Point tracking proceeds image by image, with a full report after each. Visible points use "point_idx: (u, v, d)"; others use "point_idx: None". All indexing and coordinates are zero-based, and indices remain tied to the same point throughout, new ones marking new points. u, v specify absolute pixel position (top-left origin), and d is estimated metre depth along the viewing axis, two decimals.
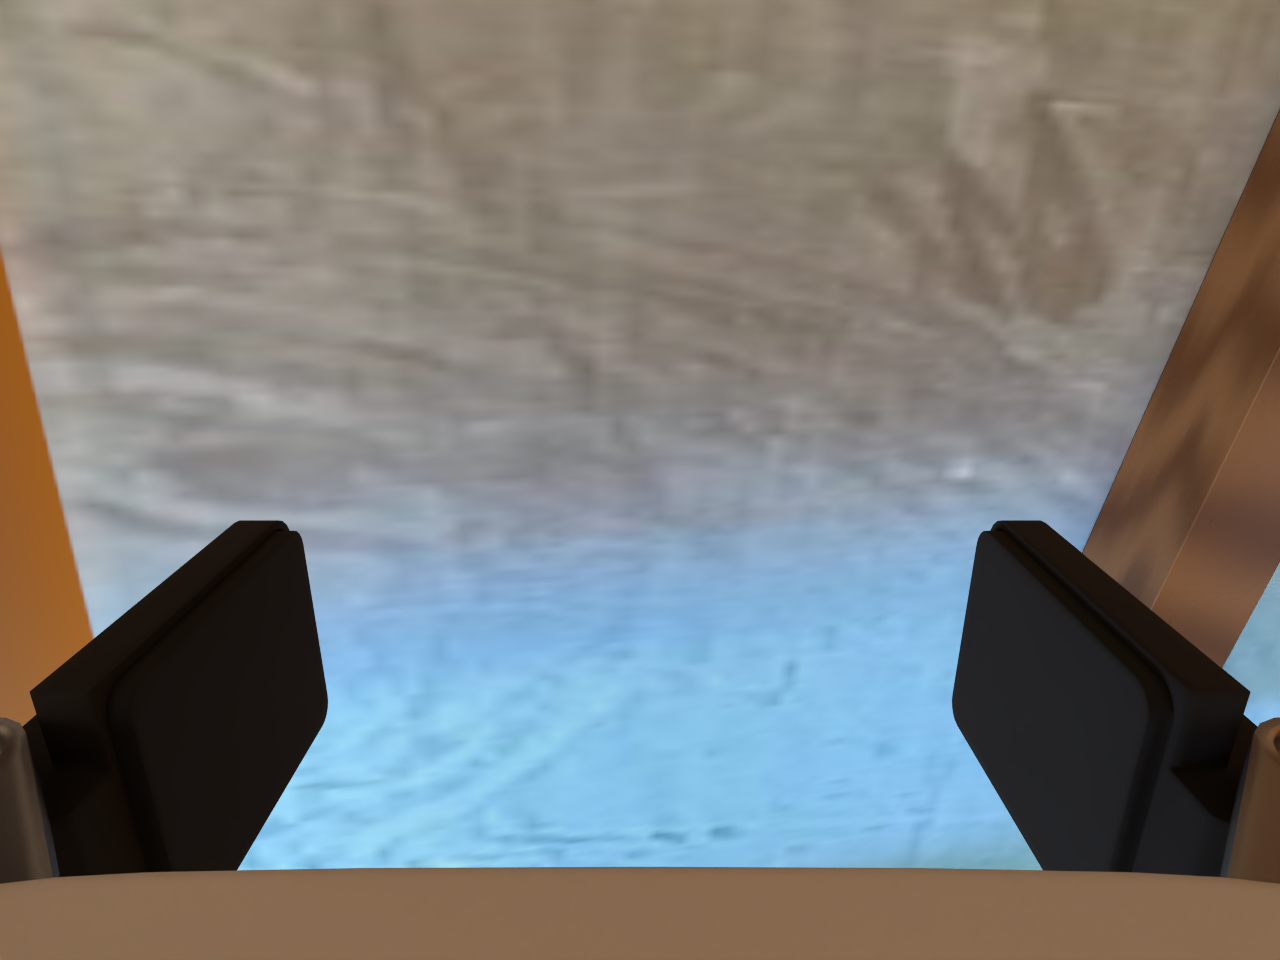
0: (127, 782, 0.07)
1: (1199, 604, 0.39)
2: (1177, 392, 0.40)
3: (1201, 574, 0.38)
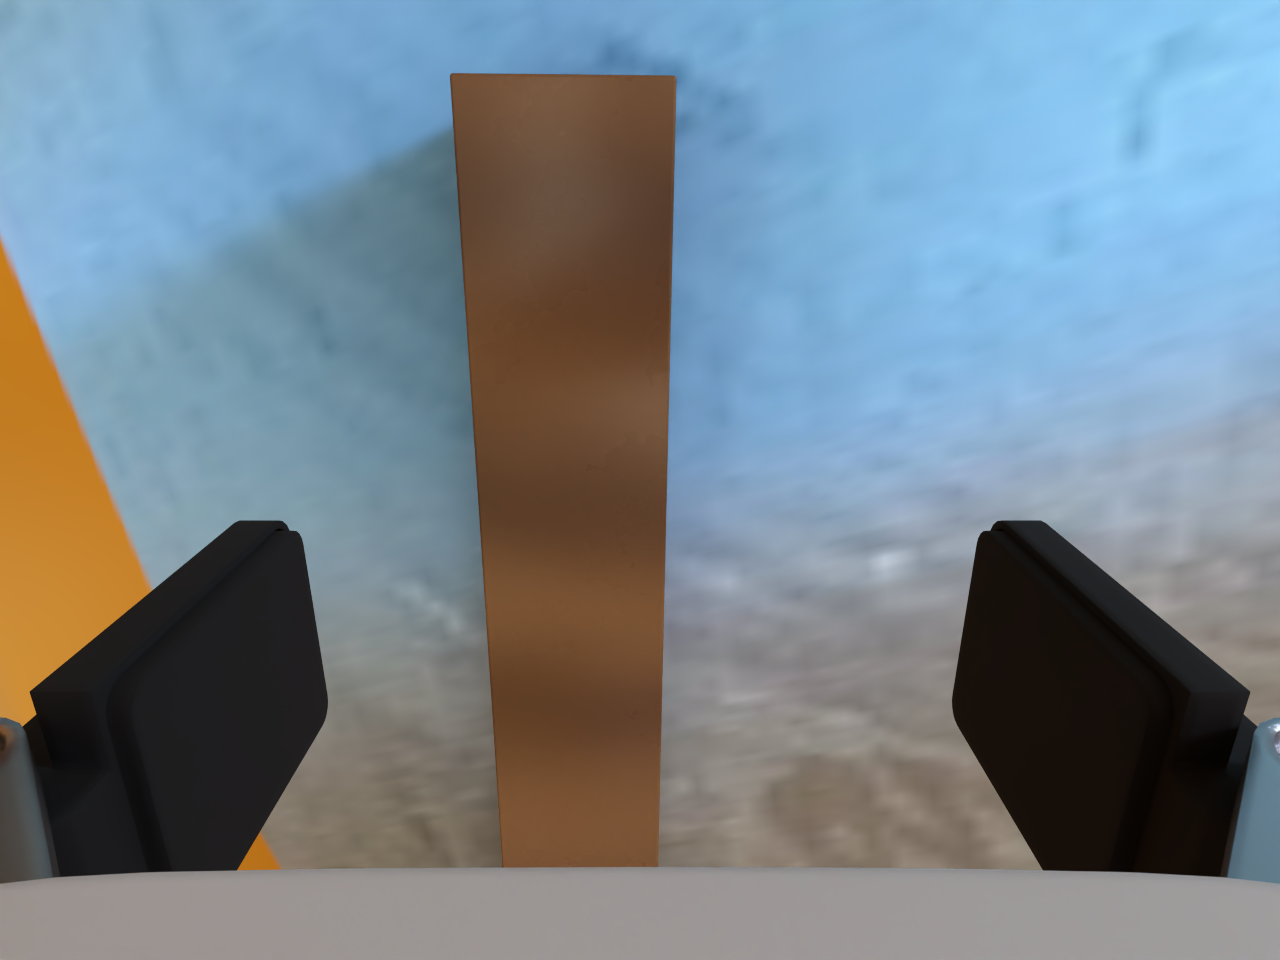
0: (127, 782, 0.07)
1: (583, 584, 0.22)
2: None
3: (607, 632, 0.22)
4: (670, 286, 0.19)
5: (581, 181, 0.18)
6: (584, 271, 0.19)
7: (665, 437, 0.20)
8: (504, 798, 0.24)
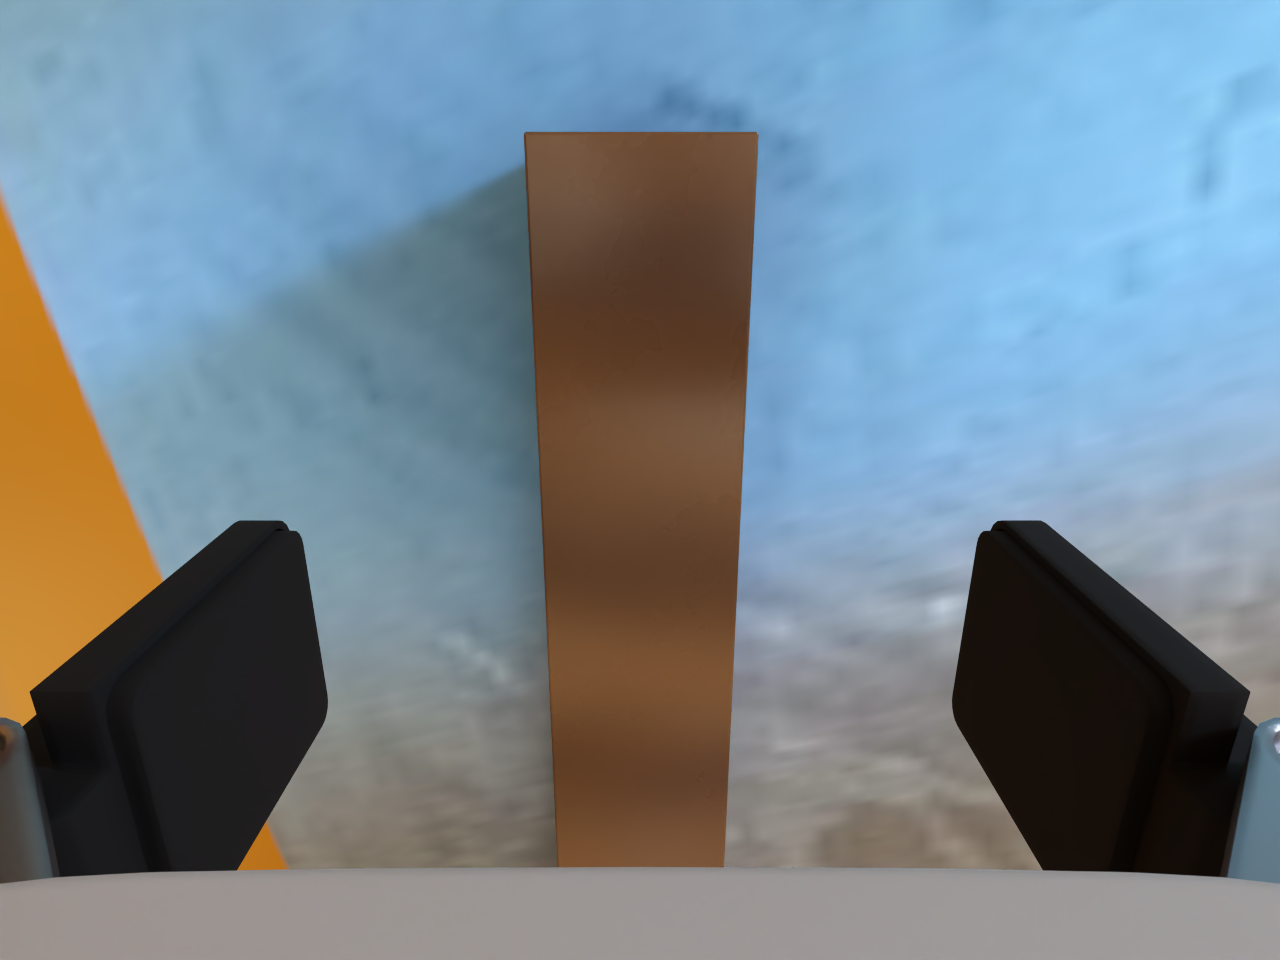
0: (127, 782, 0.07)
1: (651, 647, 0.21)
2: None
3: (674, 695, 0.22)
4: (747, 345, 0.18)
5: (658, 240, 0.18)
6: (658, 331, 0.18)
7: (738, 497, 0.20)
8: (564, 863, 0.24)
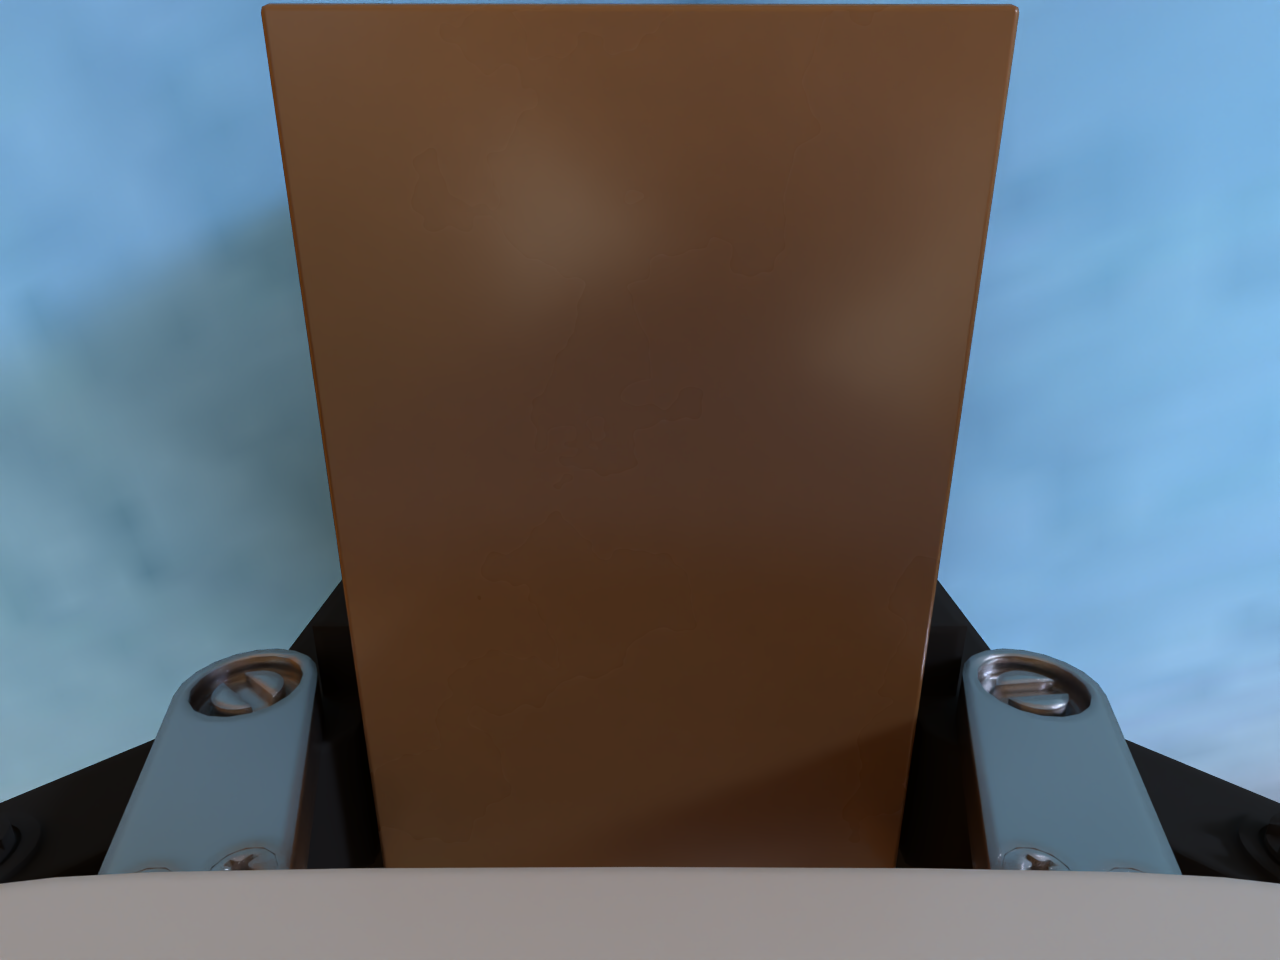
0: None
1: None
2: None
3: None
4: (929, 614, 0.07)
5: (689, 339, 0.06)
6: (688, 581, 0.07)
7: None
8: None
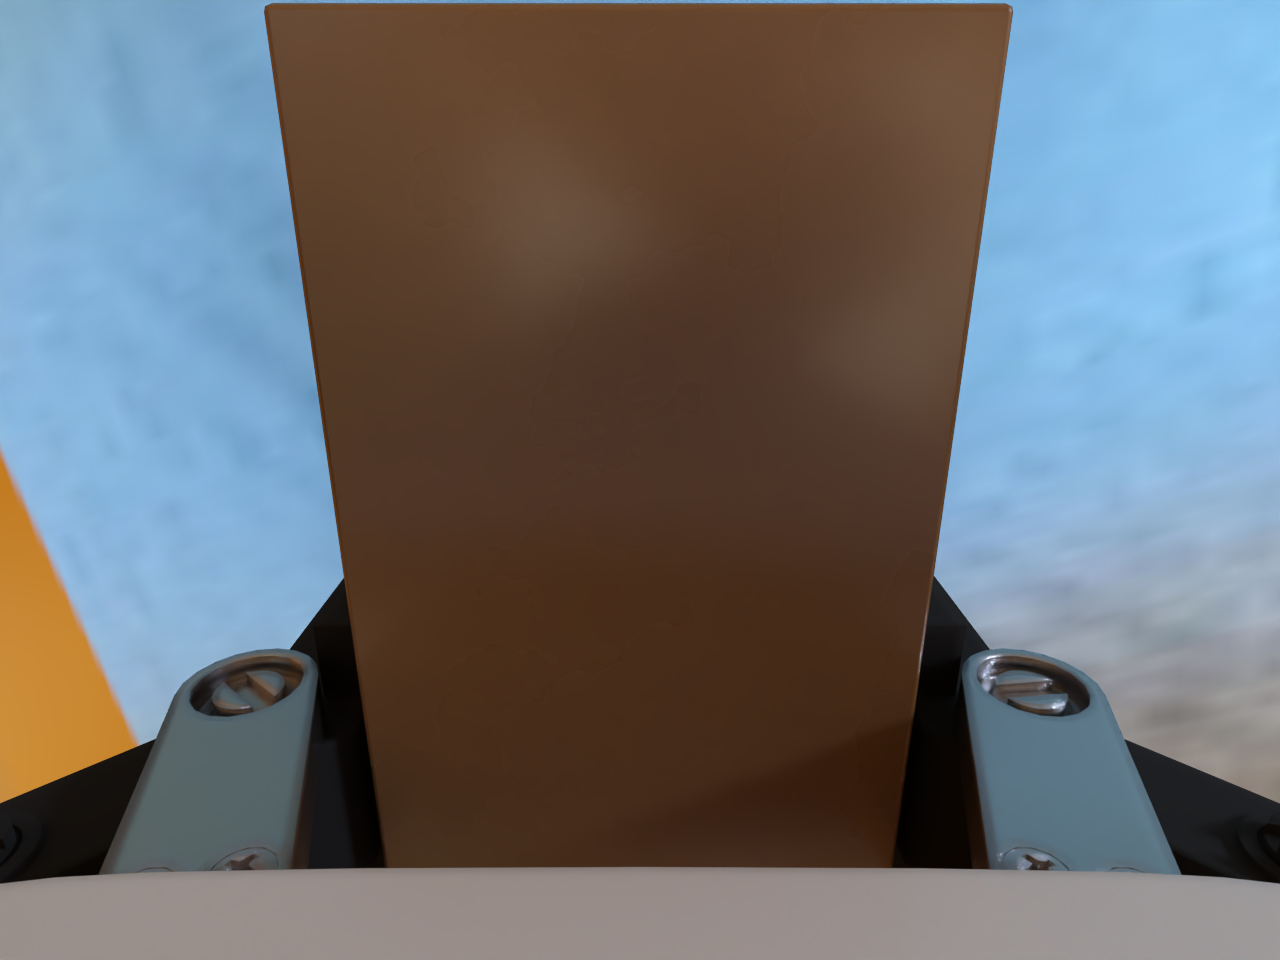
0: None
1: None
2: None
3: None
4: (926, 609, 0.07)
5: (687, 336, 0.06)
6: (686, 575, 0.07)
7: None
8: None
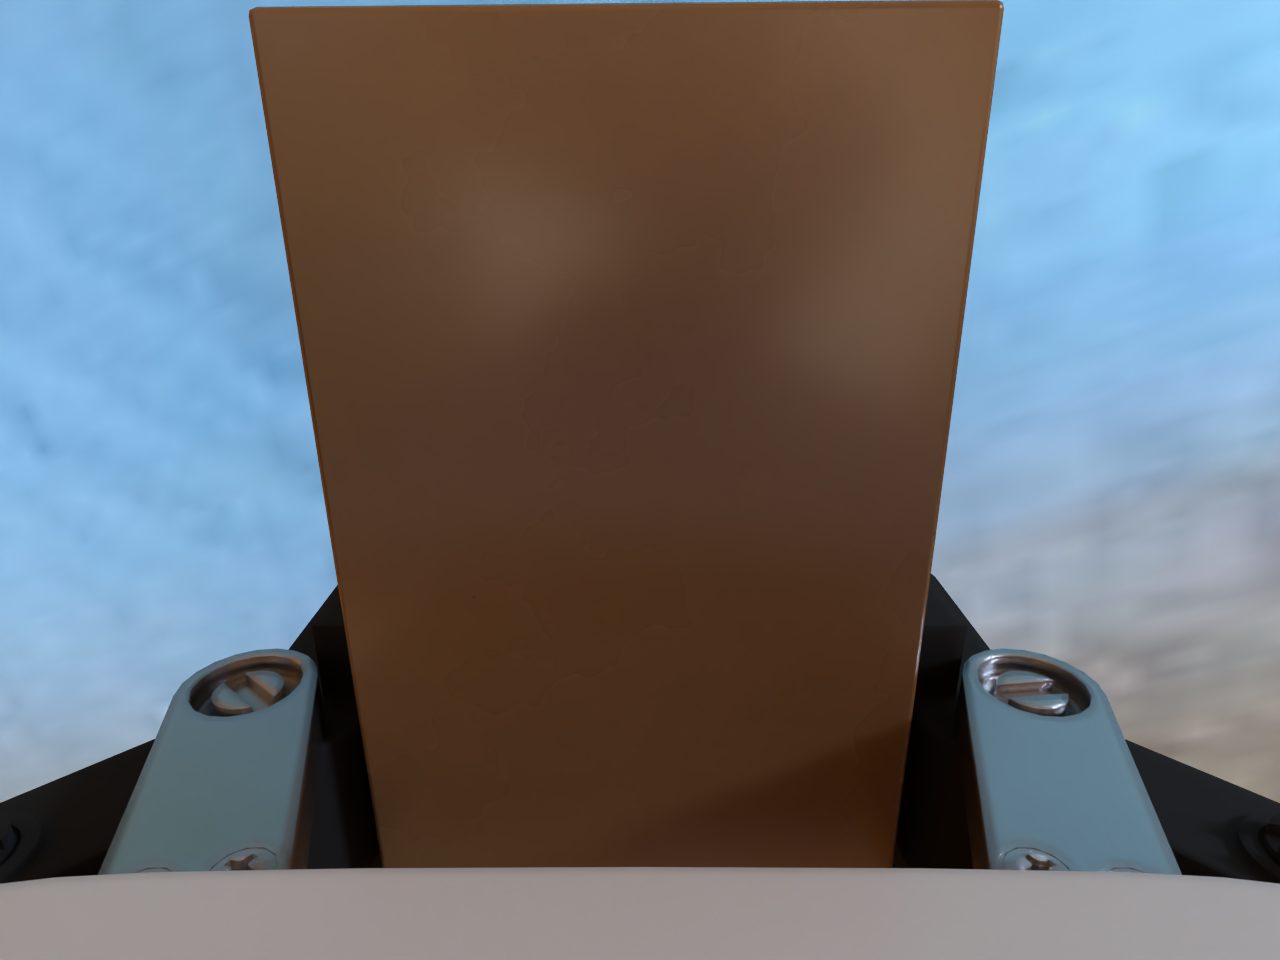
0: None
1: None
2: None
3: None
4: (923, 609, 0.07)
5: (681, 337, 0.06)
6: (682, 577, 0.07)
7: None
8: None
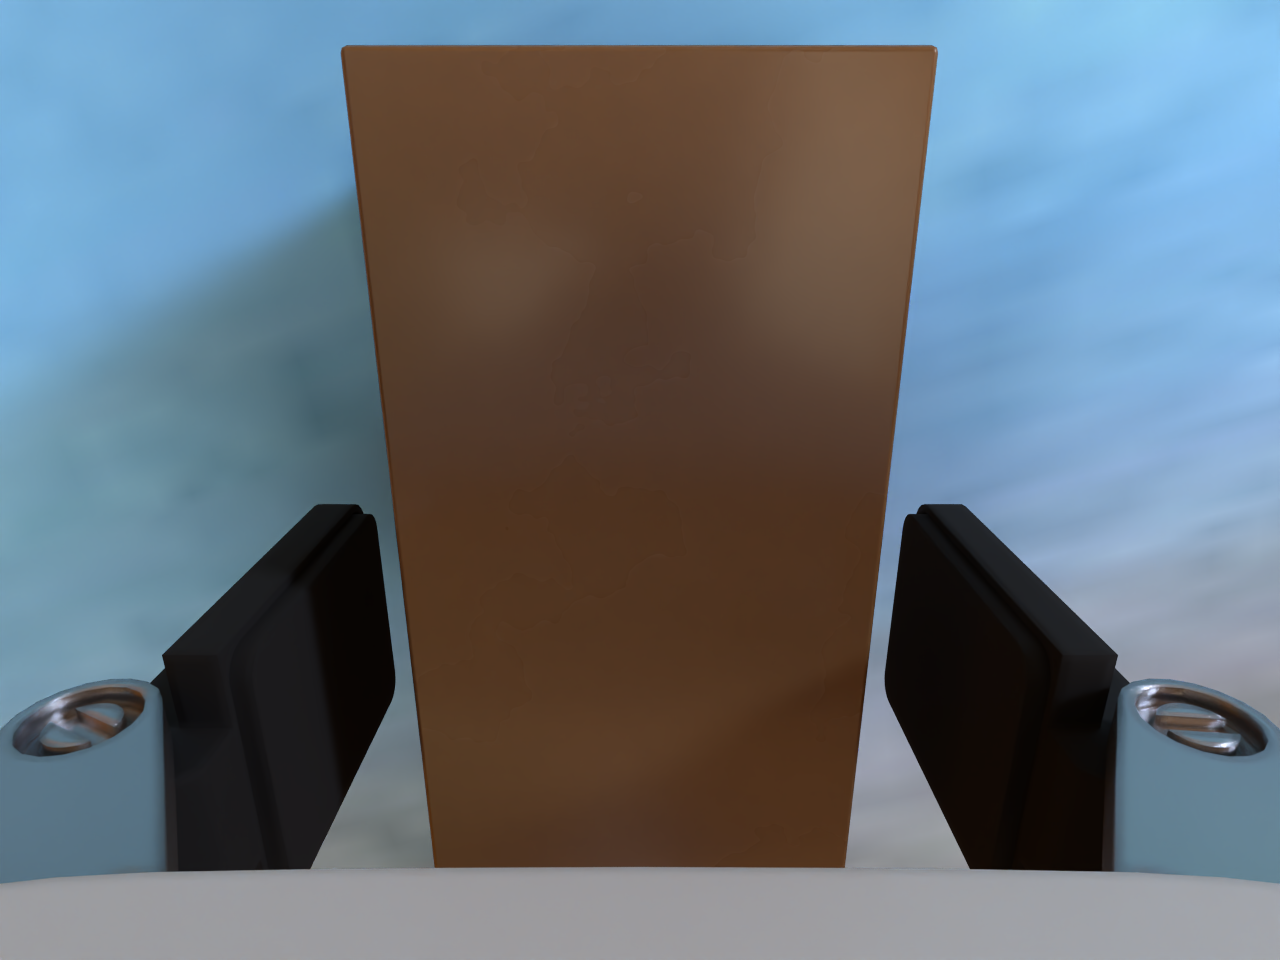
0: (245, 741, 0.08)
1: None
2: None
3: None
4: (879, 542, 0.08)
5: (680, 312, 0.07)
6: (679, 513, 0.08)
7: (844, 835, 0.09)
8: None
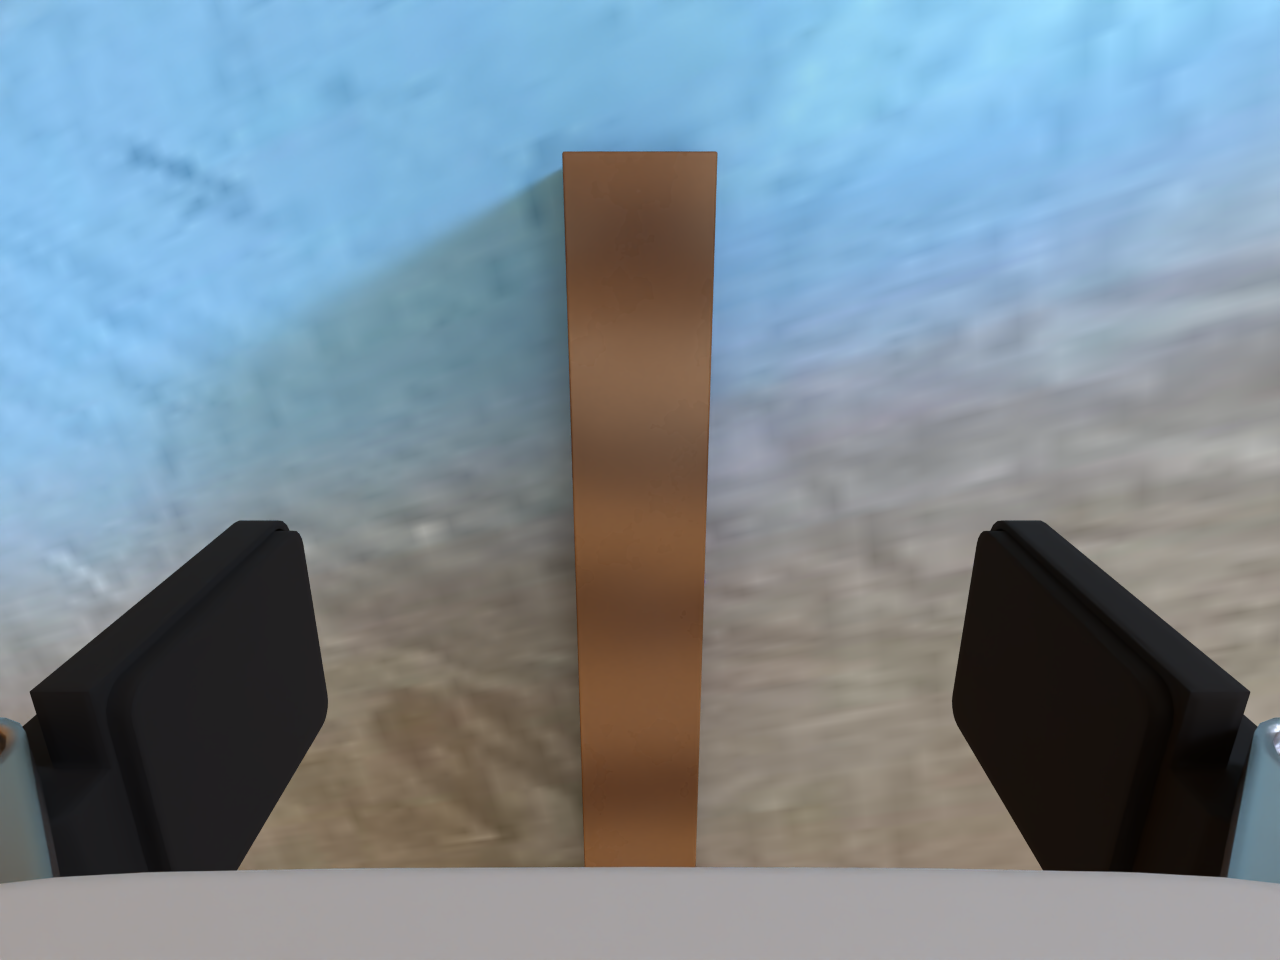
0: (127, 782, 0.07)
1: (647, 513, 0.30)
2: None
3: (664, 550, 0.30)
4: (712, 295, 0.27)
5: (651, 223, 0.26)
6: (651, 285, 0.27)
7: (707, 403, 0.28)
8: (583, 683, 0.32)
